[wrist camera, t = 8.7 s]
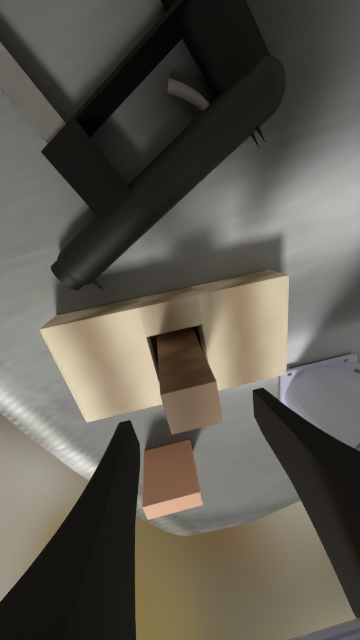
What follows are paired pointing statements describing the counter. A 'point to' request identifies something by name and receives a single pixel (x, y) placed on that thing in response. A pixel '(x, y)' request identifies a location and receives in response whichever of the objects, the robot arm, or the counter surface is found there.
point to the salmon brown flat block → (170, 480)
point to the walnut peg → (186, 382)
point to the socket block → (165, 316)
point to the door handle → (182, 153)
